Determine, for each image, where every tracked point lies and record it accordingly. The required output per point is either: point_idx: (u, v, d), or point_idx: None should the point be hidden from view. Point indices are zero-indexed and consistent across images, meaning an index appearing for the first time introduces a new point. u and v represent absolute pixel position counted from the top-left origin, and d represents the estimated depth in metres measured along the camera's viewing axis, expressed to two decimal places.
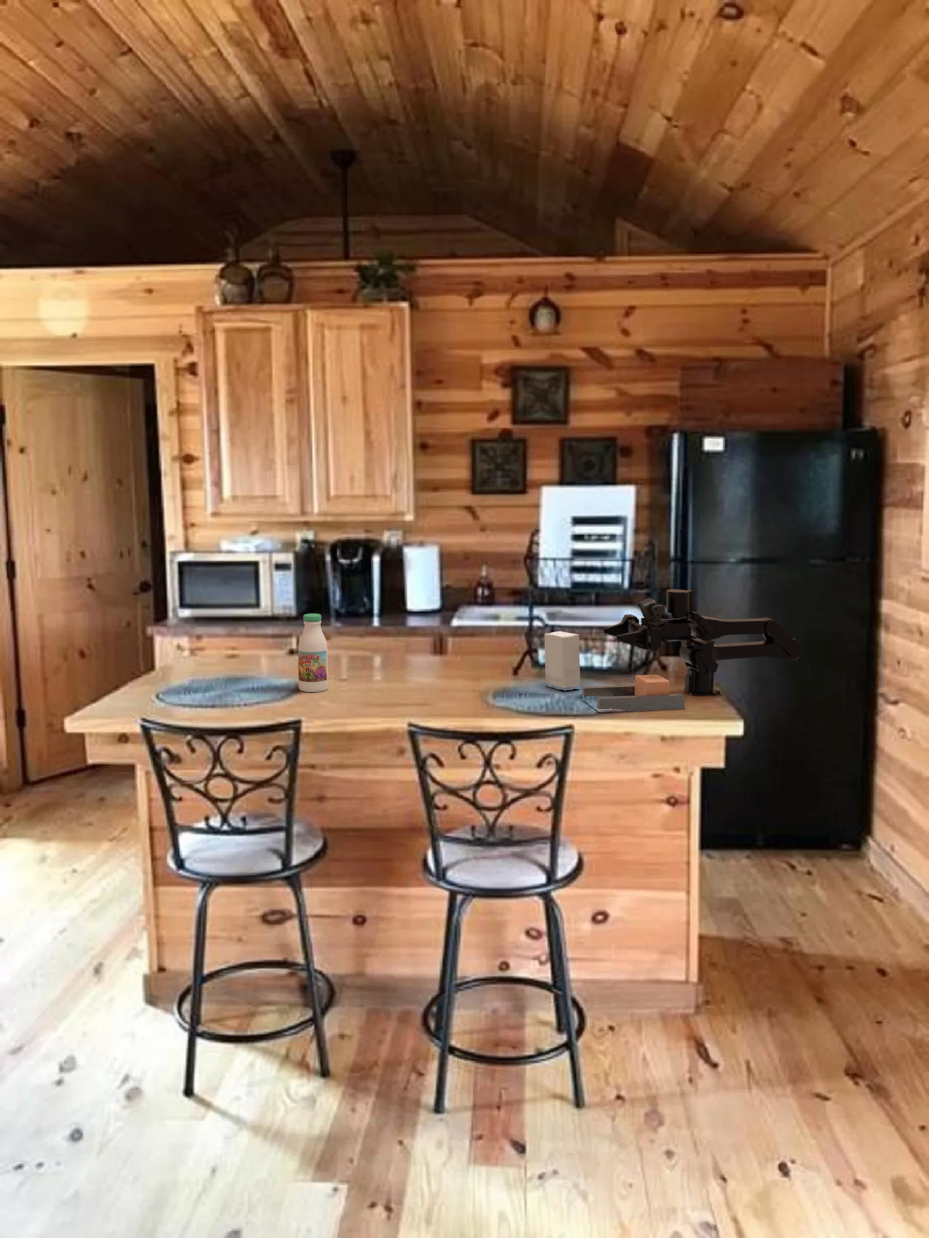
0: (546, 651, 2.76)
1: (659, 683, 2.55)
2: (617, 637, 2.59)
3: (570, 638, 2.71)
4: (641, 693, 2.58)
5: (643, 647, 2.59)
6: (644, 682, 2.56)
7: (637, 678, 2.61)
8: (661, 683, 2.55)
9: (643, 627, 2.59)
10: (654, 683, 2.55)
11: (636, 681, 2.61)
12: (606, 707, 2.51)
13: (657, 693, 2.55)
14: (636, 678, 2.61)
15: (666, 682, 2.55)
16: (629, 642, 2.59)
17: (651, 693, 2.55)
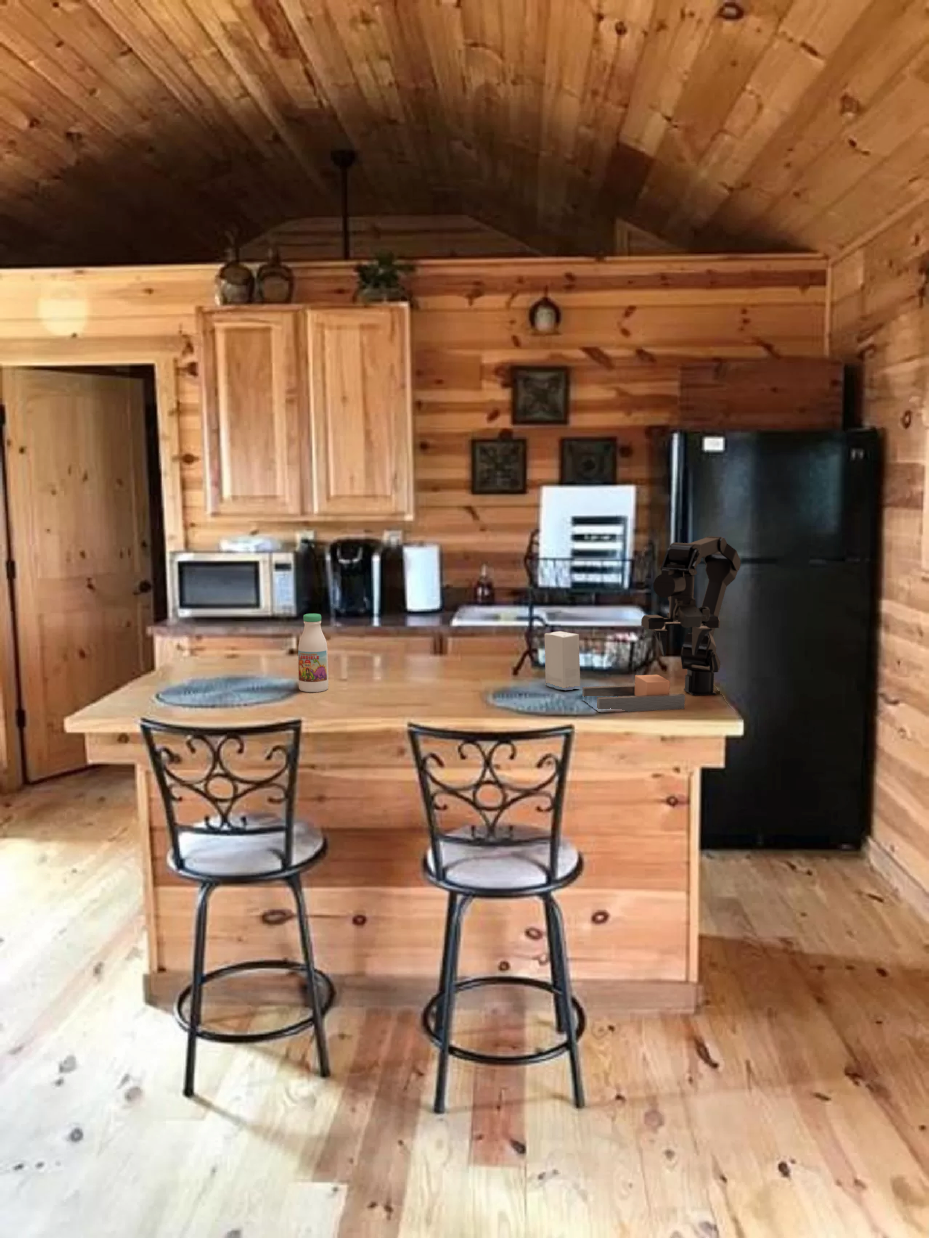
0: (546, 651, 2.76)
1: (659, 683, 2.55)
2: None
3: (570, 637, 2.71)
4: (641, 693, 2.58)
5: None
6: (644, 682, 2.56)
7: (637, 678, 2.61)
8: (661, 683, 2.55)
9: (706, 631, 2.57)
10: (654, 683, 2.55)
11: (636, 681, 2.61)
12: (606, 707, 2.51)
13: (657, 693, 2.55)
14: (636, 678, 2.61)
15: (666, 682, 2.55)
16: None
17: (651, 693, 2.55)
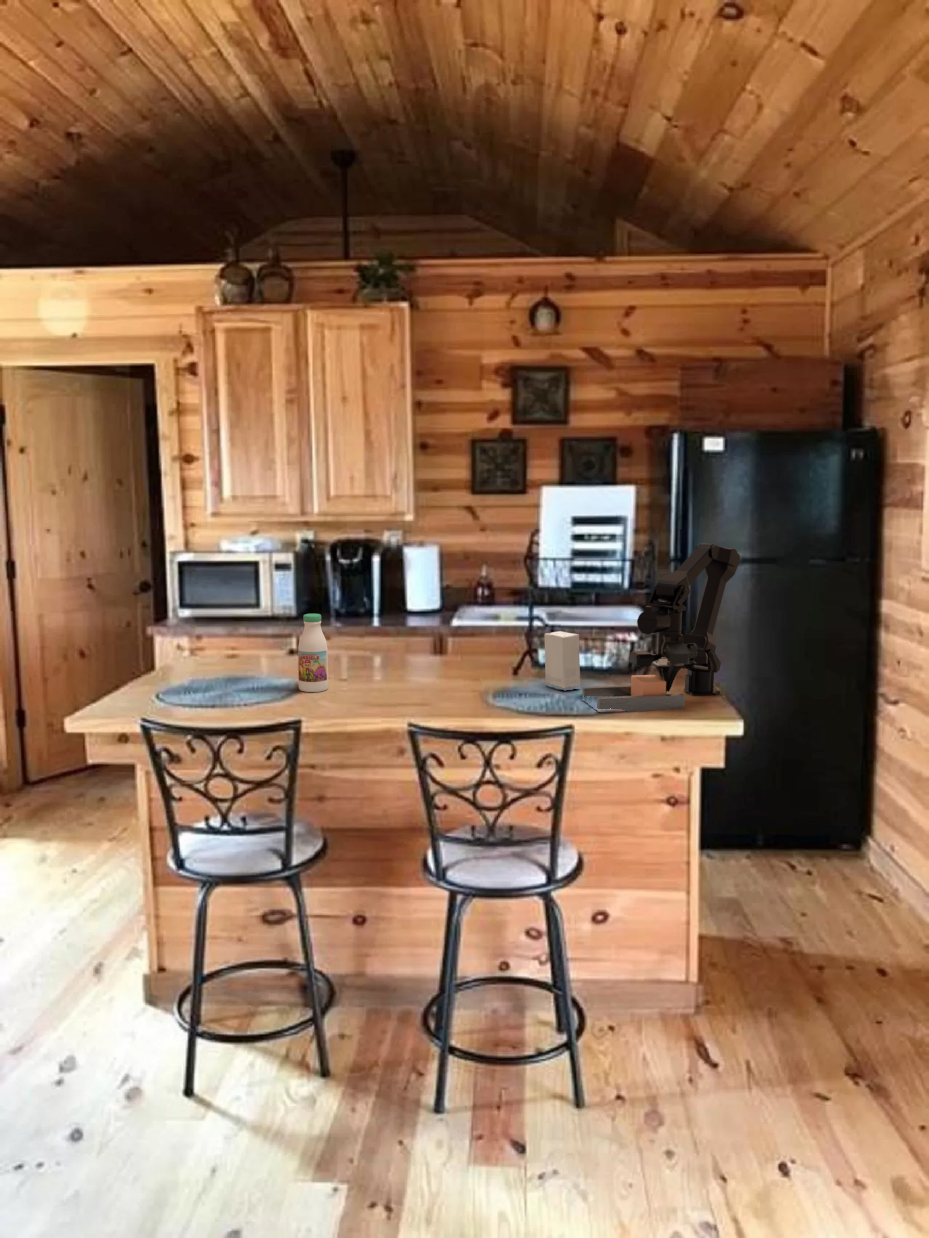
0: (546, 651, 2.76)
1: (655, 683, 2.55)
2: None
3: (570, 638, 2.71)
4: (637, 693, 2.58)
5: None
6: (640, 682, 2.56)
7: (633, 678, 2.60)
8: (657, 683, 2.55)
9: (679, 667, 2.57)
10: (650, 683, 2.55)
11: (632, 681, 2.61)
12: (606, 707, 2.51)
13: (653, 693, 2.55)
14: (632, 678, 2.61)
15: (662, 682, 2.55)
16: None
17: (648, 693, 2.55)
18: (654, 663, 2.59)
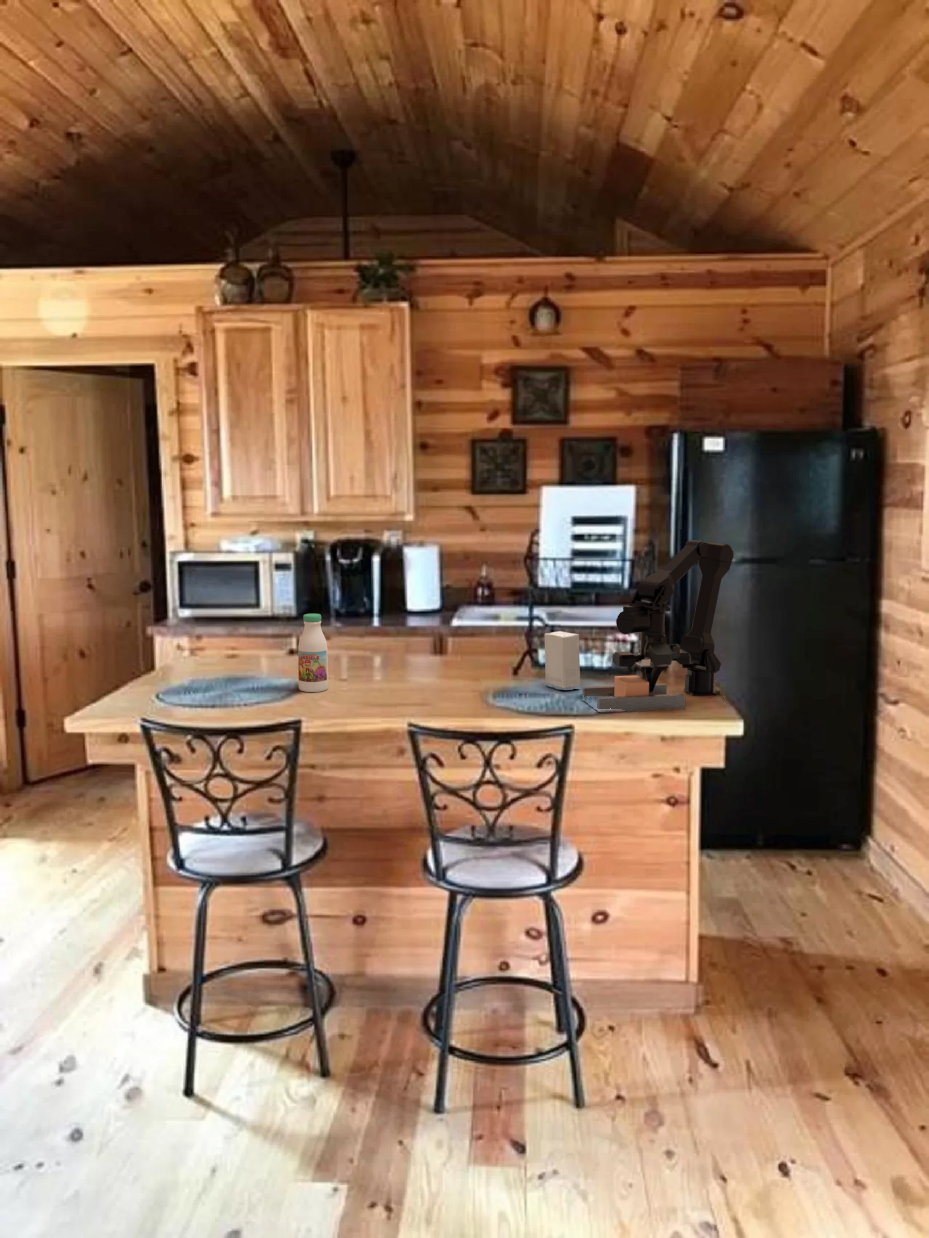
0: (546, 651, 2.76)
1: (638, 684, 2.54)
2: None
3: (570, 637, 2.71)
4: (620, 694, 2.57)
5: None
6: (623, 683, 2.55)
7: (616, 679, 2.60)
8: (640, 684, 2.54)
9: (662, 668, 2.56)
10: (633, 684, 2.54)
11: (616, 682, 2.60)
12: (606, 707, 2.51)
13: (636, 694, 2.54)
14: (616, 679, 2.60)
15: (645, 683, 2.54)
16: None
17: (630, 694, 2.54)
18: (637, 664, 2.58)
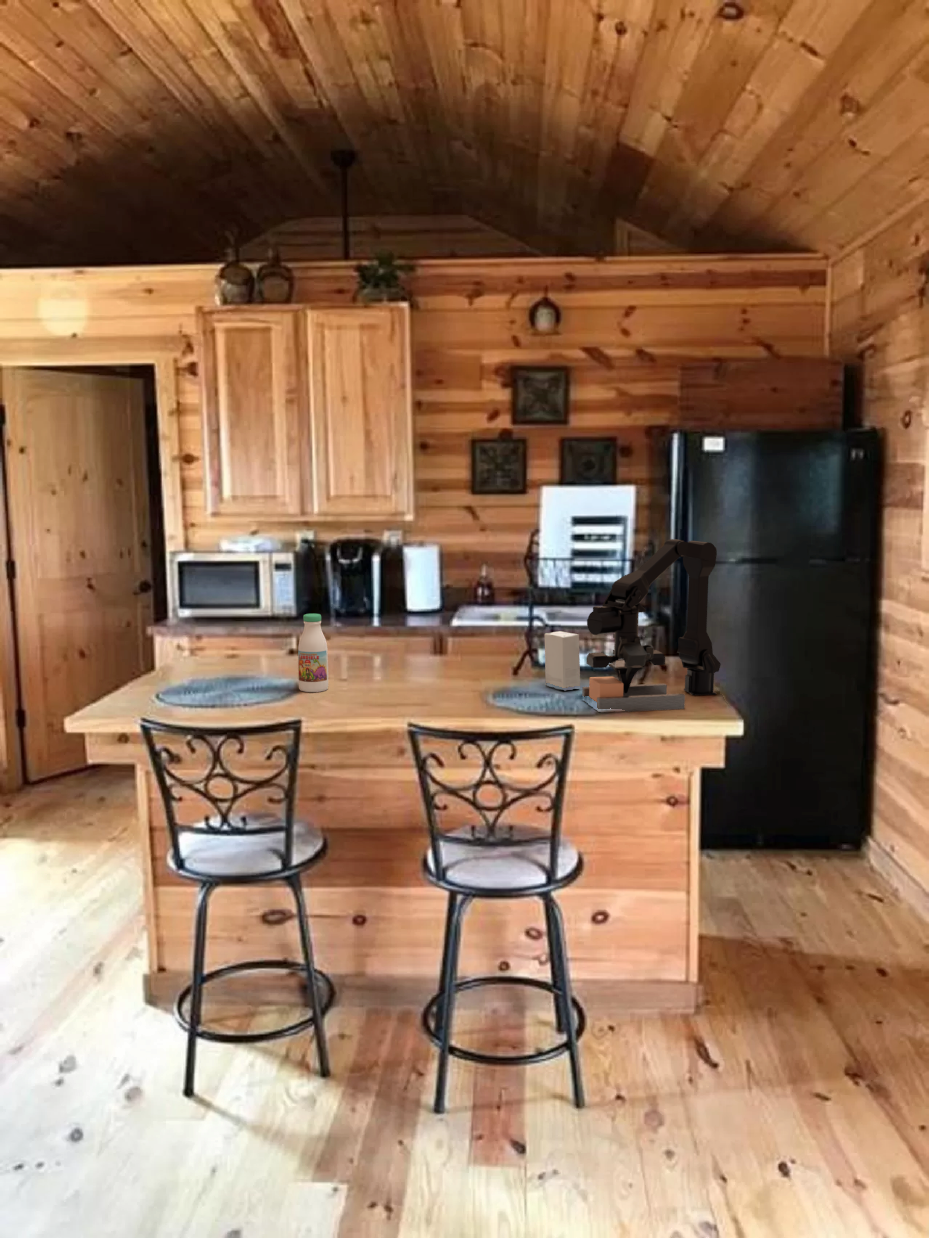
0: (546, 651, 2.76)
1: (612, 685, 2.53)
2: None
3: (570, 638, 2.71)
4: (595, 695, 2.56)
5: None
6: (597, 684, 2.54)
7: (591, 680, 2.58)
8: (614, 685, 2.53)
9: (636, 669, 2.55)
10: (607, 685, 2.52)
11: (590, 683, 2.59)
12: (606, 707, 2.51)
13: (610, 695, 2.53)
14: (590, 680, 2.59)
15: (620, 684, 2.53)
16: None
17: (605, 695, 2.53)
18: (612, 665, 2.57)
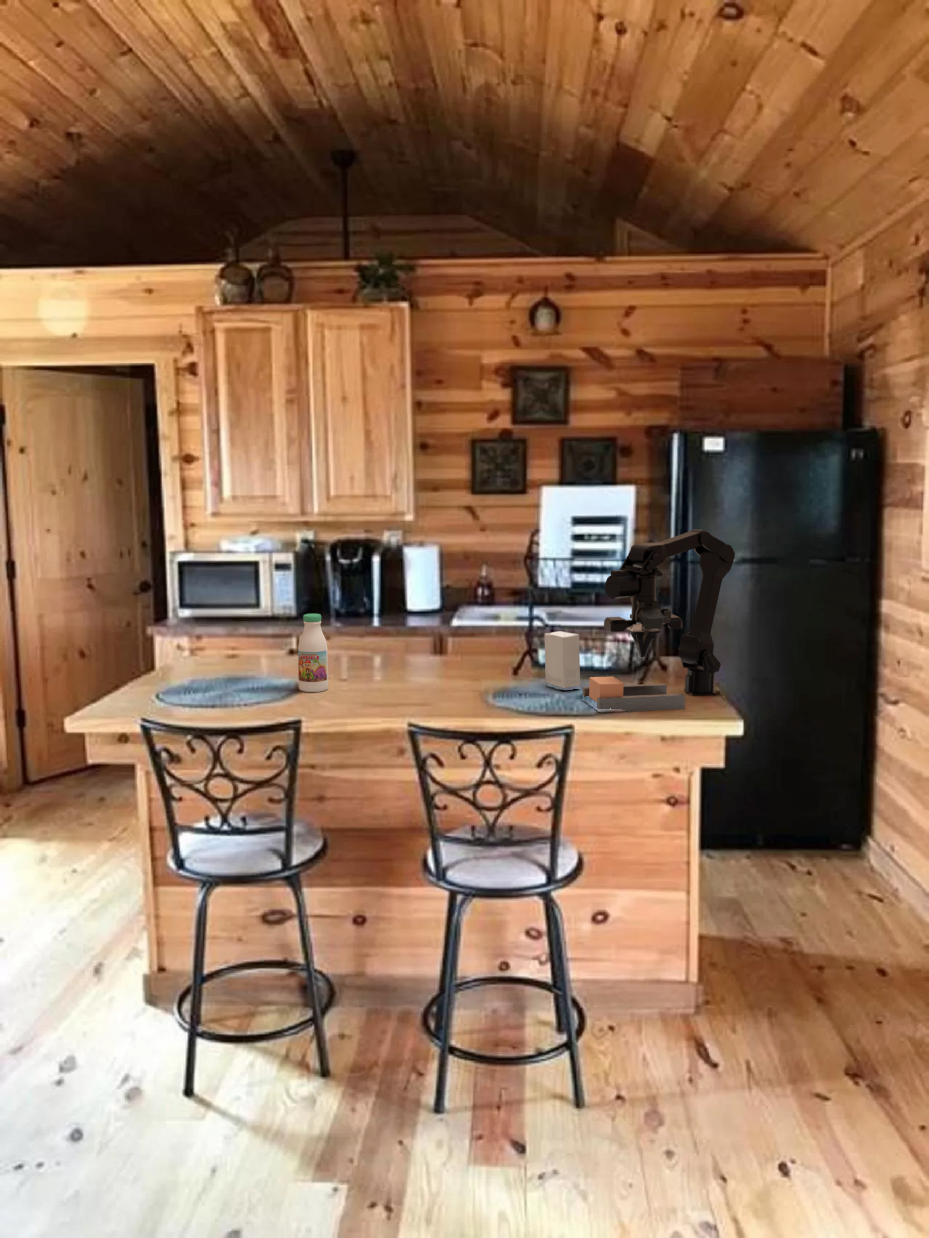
0: (546, 651, 2.76)
1: (612, 685, 2.53)
2: None
3: (570, 638, 2.71)
4: (595, 695, 2.56)
5: None
6: (597, 684, 2.54)
7: (591, 680, 2.58)
8: (614, 685, 2.53)
9: (654, 633, 2.56)
10: (607, 685, 2.52)
11: (590, 683, 2.59)
12: (606, 707, 2.51)
13: (610, 695, 2.53)
14: (590, 680, 2.59)
15: (620, 684, 2.53)
16: None
17: (605, 695, 2.53)
18: (628, 629, 2.58)
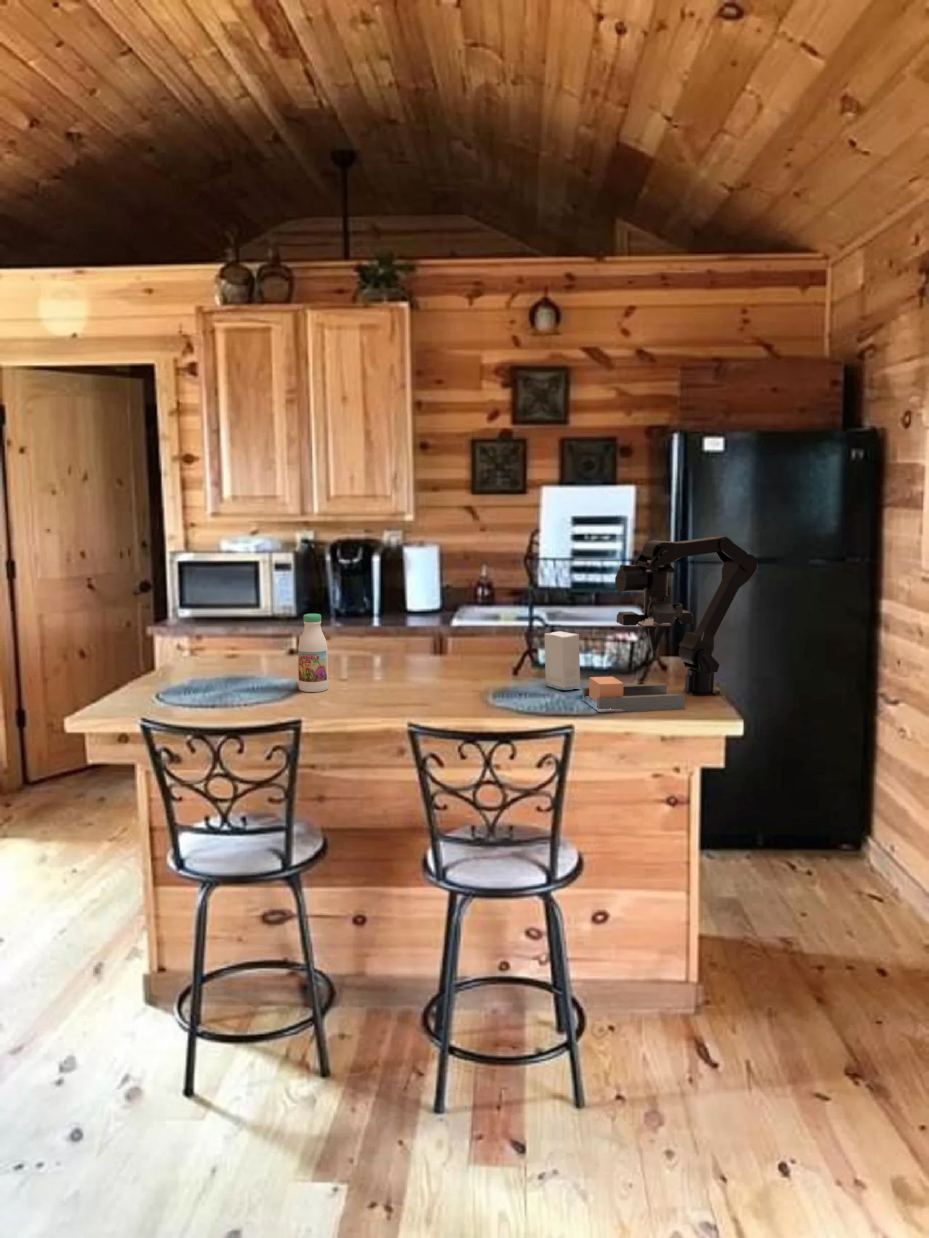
0: (546, 651, 2.76)
1: (612, 685, 2.53)
2: None
3: (570, 637, 2.71)
4: (595, 695, 2.56)
5: None
6: (597, 684, 2.54)
7: (591, 680, 2.58)
8: (614, 685, 2.53)
9: (665, 627, 2.62)
10: (607, 685, 2.52)
11: (590, 683, 2.59)
12: (606, 707, 2.51)
13: (610, 695, 2.53)
14: (590, 680, 2.59)
15: (620, 684, 2.53)
16: None
17: (605, 695, 2.53)
18: (641, 623, 2.64)
